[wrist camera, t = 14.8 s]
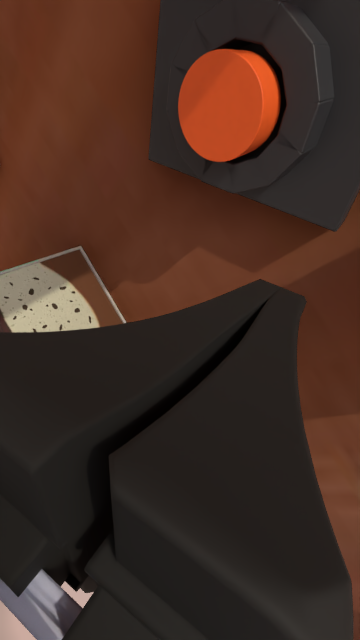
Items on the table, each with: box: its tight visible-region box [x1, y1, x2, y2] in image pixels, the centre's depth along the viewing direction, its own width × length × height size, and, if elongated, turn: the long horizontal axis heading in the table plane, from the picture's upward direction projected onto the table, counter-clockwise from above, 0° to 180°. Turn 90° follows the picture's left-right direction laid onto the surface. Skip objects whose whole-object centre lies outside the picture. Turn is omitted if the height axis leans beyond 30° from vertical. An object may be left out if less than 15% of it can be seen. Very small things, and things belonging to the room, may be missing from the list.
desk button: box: [178, 49, 281, 162], centre depth 13 cm, size 4×4×2 cm
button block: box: [149, 0, 360, 231], centre depth 15 cm, size 11×8×4 cm
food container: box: [0, 246, 126, 332], centre depth 29 cm, size 12×6×10 cm, turn 33°
